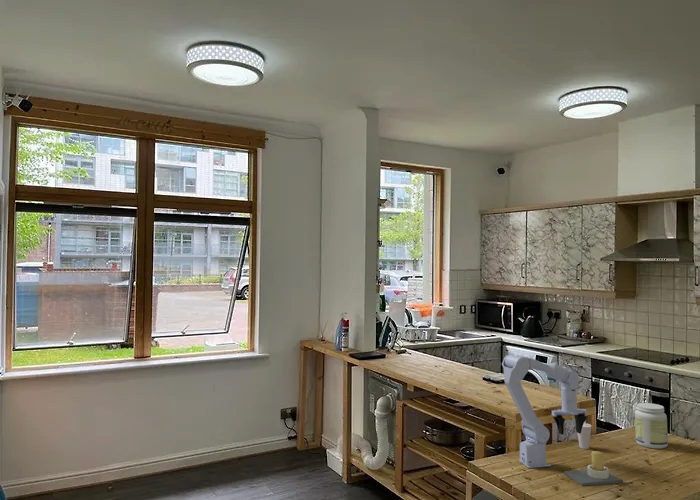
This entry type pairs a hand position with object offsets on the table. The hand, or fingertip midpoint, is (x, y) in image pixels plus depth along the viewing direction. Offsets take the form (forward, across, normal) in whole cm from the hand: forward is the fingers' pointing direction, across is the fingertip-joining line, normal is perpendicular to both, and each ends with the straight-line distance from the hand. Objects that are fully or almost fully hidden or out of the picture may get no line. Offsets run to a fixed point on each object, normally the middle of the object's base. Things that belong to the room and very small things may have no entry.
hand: (569, 433), depth 210 cm
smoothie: (+11, +14, +12) cm, 21 cm away
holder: (+10, -3, -19) cm, 22 cm away
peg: (+9, -1, -19) cm, 21 cm away
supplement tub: (+11, +45, +10) cm, 47 cm away
